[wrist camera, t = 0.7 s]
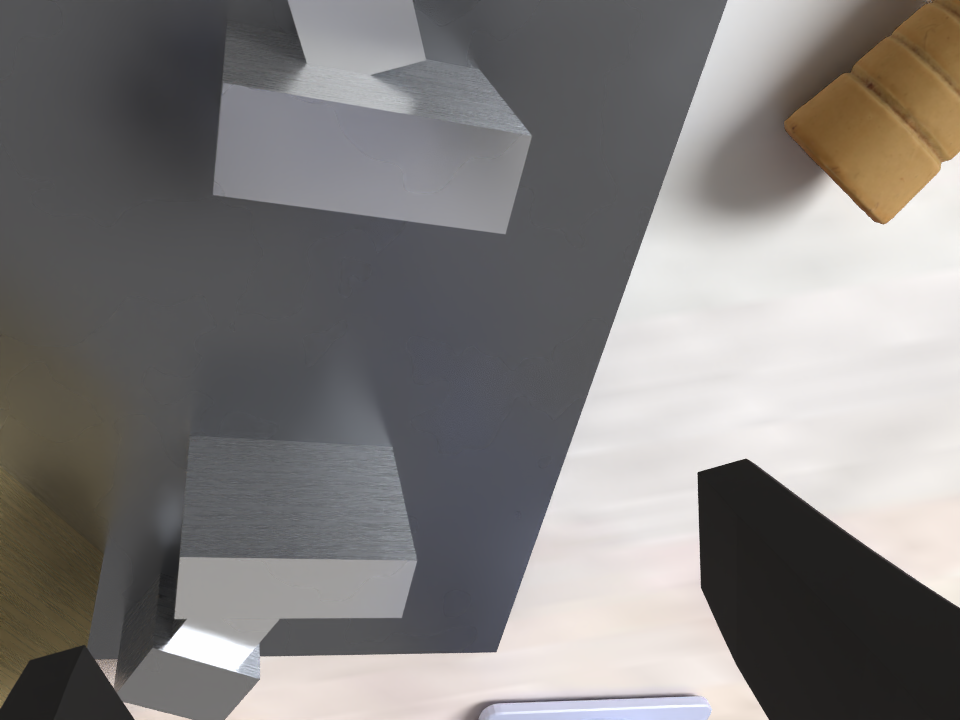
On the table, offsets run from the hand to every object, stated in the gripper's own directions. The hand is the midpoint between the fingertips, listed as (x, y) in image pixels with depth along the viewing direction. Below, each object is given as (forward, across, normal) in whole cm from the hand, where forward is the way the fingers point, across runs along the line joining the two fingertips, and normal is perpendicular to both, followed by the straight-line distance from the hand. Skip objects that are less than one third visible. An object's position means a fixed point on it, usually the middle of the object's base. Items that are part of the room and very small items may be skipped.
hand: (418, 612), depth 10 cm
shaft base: (+10, +3, 0) cm, 10 cm away
